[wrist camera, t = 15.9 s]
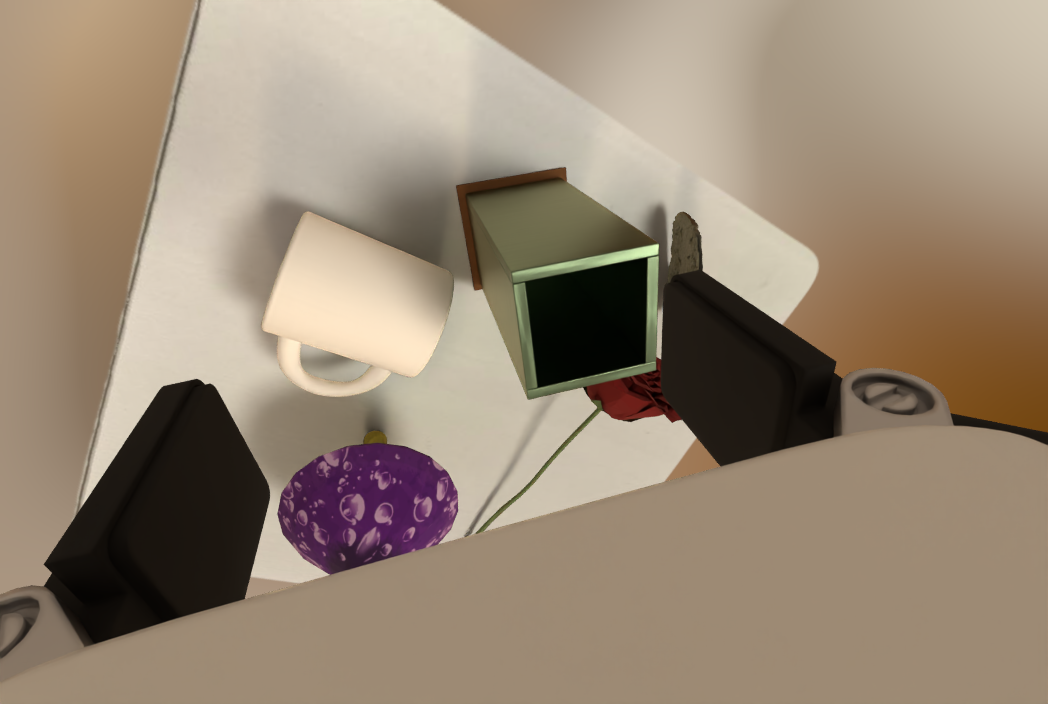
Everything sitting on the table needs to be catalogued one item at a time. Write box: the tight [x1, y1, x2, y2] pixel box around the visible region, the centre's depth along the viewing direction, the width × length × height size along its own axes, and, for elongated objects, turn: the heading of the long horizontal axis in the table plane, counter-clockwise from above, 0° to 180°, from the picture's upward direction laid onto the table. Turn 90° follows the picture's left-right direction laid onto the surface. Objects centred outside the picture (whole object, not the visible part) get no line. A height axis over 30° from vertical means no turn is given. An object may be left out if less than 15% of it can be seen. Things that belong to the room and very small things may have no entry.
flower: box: [476, 357, 682, 534], centre depth 46 cm, size 11×10×30 cm
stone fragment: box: [668, 212, 703, 283], centre depth 40 cm, size 10×1×5 cm, turn 7°
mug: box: [261, 212, 454, 397], centre depth 34 cm, size 12×10×8 cm
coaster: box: [456, 167, 567, 290], centre depth 38 cm, size 8×8×1 cm
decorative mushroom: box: [278, 431, 458, 575], centre depth 38 cm, size 12×12×15 cm
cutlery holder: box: [465, 177, 659, 400], centre depth 31 cm, size 7×7×16 cm
